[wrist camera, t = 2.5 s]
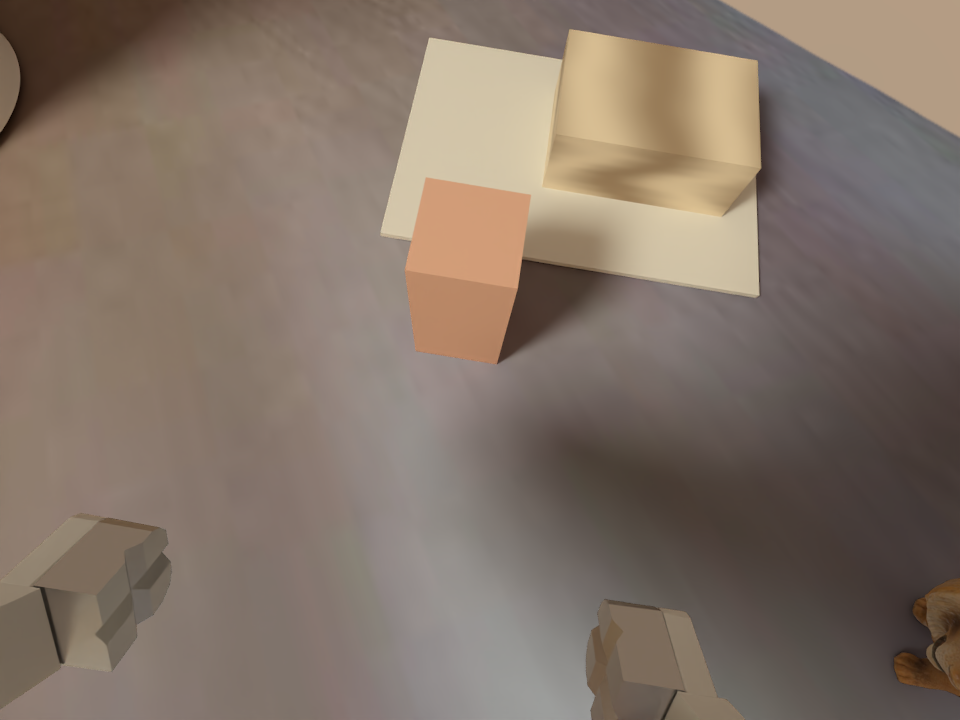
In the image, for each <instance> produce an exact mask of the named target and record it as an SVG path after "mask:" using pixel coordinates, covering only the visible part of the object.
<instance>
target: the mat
mask: <svg viewBox="0 0 960 720" xmlns="http://www.w3.org/2000/svg"><path fill="white" fill-rule="evenodd" d="M561 63H562V60H560V59H554V58H548V57H542V56H536V55H530V54H524V53H518V52H512V51H506V50H500V49H495V48H489V47H483V46H477V45H471V44H465V43H459V42H453V41H447V40H441V39H435V38H429V41H428V45H427V49H426V53H425V57H424V61H423V65H422V69H421V73H420V77H419V81H418V85H417V89H416V93H415V97H414V101H413V105H412V109H411V113H410V117H409V121H408V125H407V129H406V133H405V137H404V141H403V145H402V149H401V153H400V157H399V161H398V165H397V169H396V173H395V177H394V181H393V185H392V189H391V193H390V197H389V201H388V205H387V209H386V213H385V216H384V220H383V224H382V228H381V232H380V233H381V236H384V237H390V238H396V239H402V240H408V241H412V236H413V232H414V227H415V223H416V219H417V214H418V210H419V205H420V201H421V196H422V192H423V188H424V183H425V179H426V177H427V178H433V179H439V180H445V181H451V182H457V183H463V184H469V185H475V186H481V187H487V188H493V189H499V190H505V191H511V192H517V193H523V194H529V195H531V199H530V206H529V213H528V220H527V227H526V234H525V241H524V248H523V255H522V259H523V260H529V261H535V262H541V263H547V264H553V265H559V266H565V267H571V268H577V269H584V270H590V271H596V272H602V273H608V274H614V275H620V276H626V277H632V278H638V279H644V280H650V281H656V282H662V283H668V284H674V285H680V286H686V287H692V288H698V289H704V290H711V291H717V292H723V293H729V294H735V295H741V296H747V297H753V298H757V297H758V296H759V267H758V233H757V199H756V175H755V176H754V178H753V179H752V180H751V181H750V183H749V184H748V185H747V186H746V188H745V189H744V190H743V191H742V192H741V194H740V195H739V196H738V197H737V199H736V200H735V201H734V202H733V203H732V205H731V206H730V207H729V208H728V210H727V211H726V212H725V213H724V214H723V216H722V217H718V216H712V215H706V214H700V213H694V212H688V211H682V210H676V209H670V208H664V207H658V206H652V205H646V204H640V203H634V202H628V201H622V200H616V199H610V198H604V197H598V196H592V195H586V194H580V193H574V192H568V191H562V190H556V189H550V188H544V187H542V183H543V176H544V168H545V161H546V154H547V146H548V139H549V132H550V124H551V117H552V109H553V102H554V95H555V89H556V85H557V80H558V76H559V72H560V68H561Z"/></svg>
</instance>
